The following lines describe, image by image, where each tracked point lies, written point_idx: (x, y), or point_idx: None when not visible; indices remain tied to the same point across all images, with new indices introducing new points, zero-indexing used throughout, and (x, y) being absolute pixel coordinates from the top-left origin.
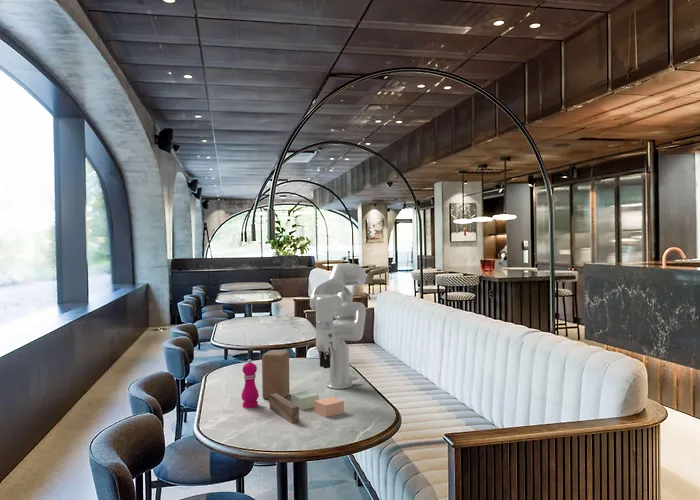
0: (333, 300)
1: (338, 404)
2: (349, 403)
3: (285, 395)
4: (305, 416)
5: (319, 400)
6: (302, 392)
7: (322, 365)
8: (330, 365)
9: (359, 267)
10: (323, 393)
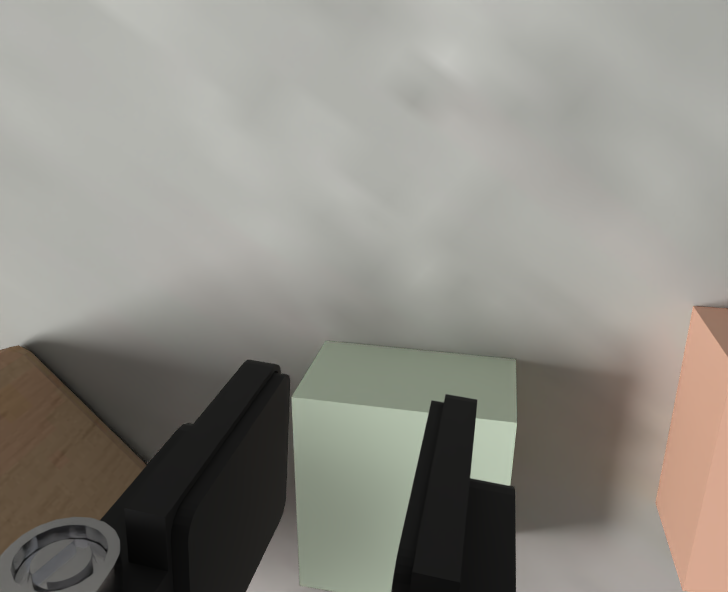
0: None
1: None
2: (717, 36)
3: (110, 445)
4: None
5: (723, 554)
6: (317, 486)
7: (274, 490)
8: (475, 421)
9: None
10: (154, 51)
